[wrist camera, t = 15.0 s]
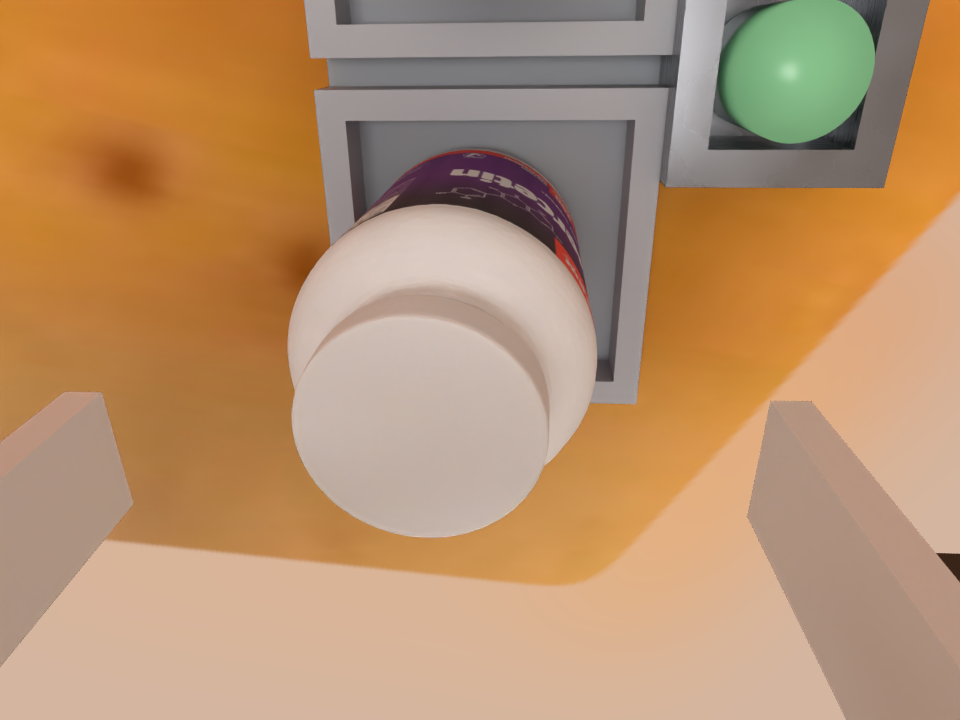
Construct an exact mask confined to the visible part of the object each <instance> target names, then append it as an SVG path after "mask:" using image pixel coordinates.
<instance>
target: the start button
mask: <svg viewBox="0 0 960 720" xmlns="http://www.w3.org/2000/svg"><path fill="white" fill-rule="evenodd" d="M874 64H875V49H874V42H873V38H872V35H871V32H870V30H869V27H868V26H867V24H866V22H865V21H864V19H863V18H862V17H861V16H860V15H859V13H858V12H856V11H855V10H854V9H853V8H852V7H850V6H848V5H847V4H845V3H843V2H840V1H838V0H791V1H784V2H777V3H770V4H764V5H759V6H755V7H752V8H750V9H747V10H745V11H743V12H741V13H740V14H738V15H737V16H735V17H734V18H733V19H731V20H730V21H729V22H728V23H727V24H726V25H725V26H724V29H723V37H722V44H721V52H720V60H719V67H718V75H717V83H716V90H715V98H714V106H713V109H714V111H715V112H716V113H717V114H718V115H719V116H720V117H721V118H723V119H724V120H725V121H727V122H729V123H731V124H733V125H735V126H738V127H740V128H742V129H745V130H747V131H750V132H752V133H754V134H757V135H759V136H761V137H764V138H766V139H769V140H772V141H775V142H779V143H789V144H793V143H802V142H807V141H811V140H814V139H817V138H819V137H821V136H824V135H826V134H827V133H829V132H831V131H832V130H834V129H835V128H837V127H838V126H839V125H841V124H842V123H843V122H844V121H845V120H846V119H847V118H848V117H849V116H850V115H851V114H852V113H853V112H854V111H855V110H856V108H857V107H858V105H859V104H860V102H861V101H862V99H863V97H864V96H865V94H866V92H867V90H868V87H869V85H870V82H871V79H872V75H873V70H874Z"/></svg>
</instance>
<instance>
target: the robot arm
mask: <svg viewBox="0 0 960 720" xmlns="http://www.w3.org/2000/svg"><path fill="white" fill-rule="evenodd" d="M133 504H134V503H133V500H132V496H131V493H130V489H129V486H128V482H127V479H126V475H125V472H124V468H123V465H122V462H121V458H120V455H119V451H118V448H117V444H116V441H115V437H114V434H113V430H112V427H111V423H110V420H109V416H108V413H107V409H106V406H105V402H104V399H103V395H102V392H63V393H62V394H61V395H60V396H58V397H57V398H56V399H54V400H53V401H52V402H51V403H49V404H48V405H47V406H46V407H44V408H43V409H42V410H40V411H39V412H38V413H37V414H35V415H34V416H33V417H32V418H30V419H29V420H28V421H26V422H25V423H24V424H23V425H21V426H20V427H19V428H18V429H16V430H15V431H14V432H12V433H11V434H10V435H9V436H7V437H6V438H5V439H4V440H2V441H1V442H0V667H1V665H2V664H3V663H4V662H5V661H6V659H7V658H8V657H9V656H10V654H11V653H12V652H13V651H14V650H15V648H16V647H17V646H18V645H19V643H20V642H21V641H22V640H23V639H24V637H25V636H26V635H27V634H28V632H29V631H30V630H31V629H32V628H33V626H34V625H35V624H36V623H37V621H38V620H39V619H40V618H41V616H42V615H43V614H44V613H45V612H46V610H47V609H48V608H49V607H50V606H51V604H52V603H53V602H54V600H55V599H56V598H57V597H58V595H60V593H61V592H62V591H63V590H64V588H65V587H66V586H67V585H68V583H69V582H70V581H71V580H72V579H73V577H74V576H75V575H76V574H77V572H78V571H79V570H80V569H81V568H82V566H83V565H84V564H85V563H86V562H87V560H88V559H89V558H90V557H91V555H92V554H93V553H94V551H96V549H97V548H98V547H99V546H100V544H101V543H102V542H103V541H104V540H105V538H106V537H107V536H108V535H109V533H110V532H111V531H112V530H113V529H114V527H115V526H116V525H117V524H118V522H119V521H120V520H121V519H122V518H123V516H124V515H125V514H126V513H127V511H128V510H129V509H130V508H131V507H132V505H133ZM747 517H748V519H749V521H750V523H751V525H752V527H753V529H754V531H755V534H756V535H757V538H758V540H759V542H760V544H761V546H762V548H763V550H764V552H765V554H766V556H767V558H768V560H769V562H770V564H771V566H772V568H773V570H774V572H775V575H776V577H777V579H778V581H779V583H780V585H781V587H782V589H783V591H784V593H785V595H786V597H787V599H788V601H789V603H790V605H791V607H792V609H793V612H794V614H795V616H796V618H797V620H798V622H799V624H800V626H801V628H802V630H803V632H804V634H805V636H806V638H807V640H808V642H809V644H810V646H811V648H812V650H813V652H814V655H815V656H816V659H817V661H818V663H819V665H820V667H821V669H822V671H823V673H824V675H825V677H826V679H827V681H828V683H829V685H830V687H831V689H832V692H833V693H834V696H835V698H836V700H837V702H838V704H839V706H840V708H841V710H842V712H843V714H844V716H845V718H846V720H960V554H946V553H935V552H934V550H933V549H932V548H931V547H930V546H929V544H928V543H927V542H926V541H925V539H924V538H923V537H922V536H921V534H920V533H919V532H918V531H917V530H916V528H915V527H914V526H913V525H912V523H911V522H910V521H909V520H908V519H907V517H906V516H905V515H904V514H903V513H902V511H901V510H900V509H899V508H898V506H897V505H896V504H895V503H894V501H893V500H892V499H891V498H890V497H889V495H888V494H887V493H886V492H885V491H884V489H883V488H882V487H881V486H880V484H879V483H878V482H877V481H876V480H875V478H874V477H873V476H872V475H871V473H870V472H869V471H868V470H867V469H866V467H865V466H864V465H863V464H862V463H861V461H860V460H859V459H858V458H857V456H856V455H855V454H854V453H853V451H852V450H851V449H850V448H849V447H848V445H847V444H846V443H845V442H844V440H843V439H842V438H841V437H840V436H839V434H838V433H837V432H836V431H835V430H834V429H833V427H832V426H831V425H830V423H829V422H828V421H827V420H826V419H825V417H824V416H823V415H822V414H821V412H820V411H819V410H818V409H817V408H816V406H815V405H814V404H813V403H812V402H811V401H770V406H769V411H768V416H767V421H766V426H765V431H764V436H763V441H762V446H761V451H760V456H759V461H758V466H757V471H756V476H755V480H754V485H753V490H752V496H751V500H750V506H749V510H748V516H747Z"/></svg>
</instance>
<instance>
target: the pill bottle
mask: <svg viewBox="0 0 960 720" xmlns="http://www.w3.org/2000/svg"><path fill="white" fill-rule="evenodd" d="M288 360H289V369H290V374H291V378H292V383H293V386H294V389H295V395H294V399H293V405H292V429H293V435H294V440H295V444H296V448H297V451H298V453H299V456H300V458H301V460H302V463H303V465H304V466H305V468H306V470H307V471H308V473H309V475H310V476H311V477H312V479H313V480H314V482H315V483H316V485H317V486H318V487H319V488H320V489H321V490H322V491H323V492H324V493H325V494H326V495H327V496H328V497H329V498H330V499H331V500H332V502H334V503H335V504H336V505H337V506H339V507H340V508H341V509H343V510H344V511H346V512H347V513H349V514H350V515H352V516H353V517H355V518H357V519H359V520H361V521H363V522H364V523H366V524H369V525H371V526H374V527H376V528H379V529H382V530H385V531H388V532H391V533H395V534H400V535H406V536H411V537H424V538H440V537H451V536H457V535H461V534H466V533H470V532H472V531H475V530H478V529H481V528H484V527H486V526H488V525H490V524H492V523H494V522H496V521H497V520H499V519H501V518H503V517H504V516H506V515H507V514H508V513H510V512H511V511H512V510H513V509H515V508H516V507H517V506H518V505H519V504H520V503H521V502H522V501H523V500H524V499H525V498H526V496H527V495H528V494H529V493H530V491H531V490H532V488H533V487H534V485H535V484H536V482H537V480H538V478H539V476H540V474H541V472H542V469H543V467H544V466H545V465H546V464H547V463H549V462H550V461H551V460H552V459H553V458H554V457H555V456H556V455H557V454H558V453H559V451H560V450H561V449H562V448H563V447H564V445H565V444H566V443H567V442H568V441H569V439H570V438H571V437H572V435H573V434H574V433H575V431H576V430H577V428H578V427H579V425H580V423H581V421H582V419H583V417H584V415H585V413H586V411H587V409H588V406H589V403H590V401H591V398H592V393H593V389H594V385H595V378H596V370H597V344H596V334H595V328H594V322H593V318H592V314H591V309H590V304H589V299H588V294H587V289H586V283H585V278H584V273H583V268H582V262H581V257H580V251H579V245H578V239H577V234H576V230H575V227H574V224H573V220H572V217H571V215H570V213H569V210H568V208H567V206H566V204H565V202H564V201H563V199H562V197H561V196H560V194H559V193H558V191H557V190H556V189H555V188H554V186H553V185H552V184H551V183H550V182H549V181H548V180H547V179H546V178H545V177H544V176H543V175H542V174H541V173H540V172H538V171H537V170H536V169H535V168H533V167H532V166H530V165H528V164H527V163H525V162H523V161H521V160H519V159H517V158H515V157H513V156H511V155H508V154H505V153H502V152H499V151H494V150H489V149H473V148H465V149H456V150H451V151H447V152H443V153H439V154H437V155H434V156H432V157H430V158H428V159H425V160H423V161H422V162H420V163H418V164H417V165H415V166H414V167H412V168H411V169H410V170H408V171H407V172H406V173H405V174H403V175H402V176H401V177H400V178H399V179H398V180H397V181H396V182H395V183H394V184H393V185H392V186H391V187H390V188H389V189H388V190H387V191H386V192H385V193H384V194H383V195H382V196H381V197H380V198H379V199H378V200H377V201H376V202H375V203H374V204H373V205H372V206H371V207H370V209H369V210H368V211H367V212H366V213H365V214H364V215H363V216H362V217H361V218H360V219H359V220H358V221H357V222H356V223H355V224H354V225H353V226H351V227H350V229H349V230H347V231H346V232H345V233H344V234H343V235H342V236H341V237H340V238H339V239H338V240H337V241H336V242H335V243H334V244H333V245H332V246H331V247H330V248H329V249H328V250H327V251H326V252H325V253H324V254H323V256H322V257H321V258H320V259H319V260H318V262H317V263H316V264H315V266H314V267H313V269H312V270H311V272H310V273H309V275H308V277H307V278H306V280H305V282H304V284H303V286H302V287H301V289H300V291H299V294H298V296H297V299H296V302H295V304H294V307H293V311H292V315H291V319H290V323H289V332H288Z"/></svg>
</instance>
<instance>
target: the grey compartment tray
mask: <svg viewBox="0 0 960 720" xmlns="http://www.w3.org/2000/svg"><path fill="white" fill-rule="evenodd" d="M677 4H678V0H304V5H305V14H306V23H307V32H308V41H309V51H310V58H327V66H328V76H329V87H325V88H321V89H317V90H314V97H315V106H316V115H317V124H318V133H319V143H320V152H321V161H322V170H323V179H324V189H325V198H326V207H327V216H328V225H329V235H330V244H331V246H332V245H333V244H334V243H335V242H336V241H337V240H338V239H339V238H340V237H341V236H342V235H343V234H344V233H345V232H346V231H347V230H349V229H350V227H351V226H353V225H354V224H355V223H356V222H357V221H358V220H359V219H360V218H361V217H362V216H363V215H364V214H365V213H366V212H367V211H368V210H369V209H370V207H371V206H372V205H373V204H374V203H375V202H376V201H377V200H378V199H379V198H380V197H381V196H382V195H383V194H384V193H385V192H386V191H387V190H388V189H389V188H390V187H391V186H392V185H393V184H394V183H395V182H396V181H397V180H398V179H399V178H400V177H401V176H402V175H403V174H405V173H406V172H407V171H408V170H410V169H411V168H412V167H414V166H415V165H417V164H418V163H420V162H422V161H423V160H425V159H428V158H430V157H432V156H434V155H437V154H439V153H443V152H447V151H451V150H456V149H465V148H473V149H489V150H494V151H499V152H502V153H505V154H508V155H511V156H513V157H515V158H517V159H519V160H521V161H523V162H525V163H527V164H528V165H530V166H532V167H533V168H535V169H536V170H537V171H538V172H540V173H541V174H542V175H543V176H544V177H545V178H546V179H547V180H548V181H549V182H550V183H551V184H552V185H553V186H554V188H555V189H556V190H557V191H558V193H559V194H560V196H561V197H562V199H563V201H564V202H565V204H566V206H567V208H568V210H569V213H570V215H571V217H572V220H573V224H574V227H575V230H576V234H577V239H578V245H579V251H580V257H581V262H582V268H583V273H584V278H585V283H586V289H587V294H588V299H589V304H590V309H591V314H592V318H593V322H594V328H595V334H596V344H597V370H596V378H595V385H594V389H593V393H592V398H591V401H590V403H609V404H636V403H637V393H638V383H639V374H640V364H641V354H642V344H643V335H644V325H645V315H646V306H647V296H648V286H649V276H650V267H651V257H652V247H653V237H654V228H655V218H656V208H657V198H658V189H659V179H660V169H661V159H662V150H663V140H664V130H665V121H666V111H667V101H668V91H669V88H668V87H665V86H662V85H659V74H660V64H661V55H672V52H673V43H674V33H675V23H676V13H677Z"/></svg>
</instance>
